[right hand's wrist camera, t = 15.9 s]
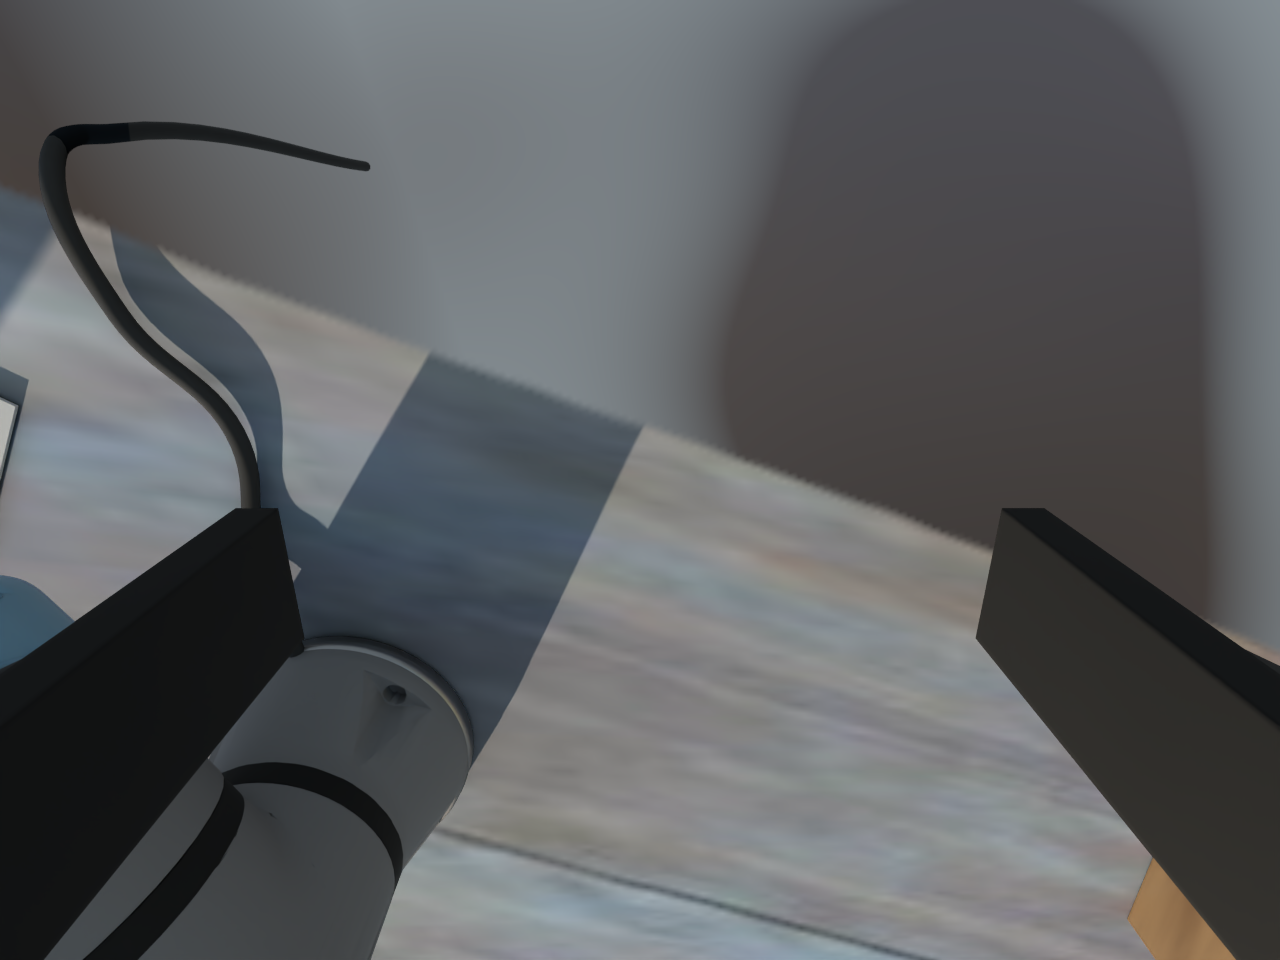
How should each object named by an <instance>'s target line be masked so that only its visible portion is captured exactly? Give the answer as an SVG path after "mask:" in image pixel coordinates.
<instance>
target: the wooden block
mask: <svg viewBox="0 0 1280 960" xmlns="http://www.w3.org/2000/svg"><path fill="white" fill-rule="evenodd" d="M1128 921H1129V922H1130V924H1131V925H1132V927H1133V928H1134V929H1135V931H1136V932H1137V934H1138V935H1139V937H1140V938H1141V939H1142V941H1143V942H1144V944H1145V945H1146V947H1147V948H1148V949H1149V951H1150V952H1151V954H1152V955H1153V957H1154V958H1155V959H1156V960H1236V959H1235V958H1234V957H1233V955H1232V954H1231V953H1230V952H1229V950H1228V949H1227V948H1226V947H1225V946H1224V944H1223V943H1222V942H1221V941H1220V939H1219V938H1218V937H1217V936H1216V934H1215V933H1214V932H1213V931H1212V929H1211V928H1210V927H1209V926H1208V925H1207V923H1206V922H1205V921H1204V920H1203V918H1202V917H1201V916H1200V915H1199V913H1198V912H1197V911H1196V910H1195V908H1194V907H1193V906H1192V905H1191V904H1190V902H1189V901H1188V900H1187V899H1186V897H1185V896H1184V895H1183V894H1182V892H1181V891H1180V890H1179V889H1178V887H1177V886H1176V885H1175V884H1174V883H1173V881H1172V880H1171V879H1170V878H1169V876H1168V875H1167V874H1166V873H1165V871H1164V870H1163V869H1162V868H1161V866H1160V865H1159V864H1158V863H1157V862H1156V860H1155V859H1154V858H1153V859H1152V861H1151V864H1150V866H1149V868H1148V871H1147V873H1146V876H1145V878H1144V880H1143V883H1142V885H1141V888H1140V890H1139V892H1138V895H1137V897H1136V900H1135V902H1134V904H1133V907H1132V909H1131V911H1130V914H1129V916H1128Z"/></svg>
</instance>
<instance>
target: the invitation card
mask: <svg viewBox="0 0 1280 960" xmlns="http://www.w3.org/2000/svg"><path fill="white" fill-rule="evenodd" d="M17 410H18V405H16V404H14V403H12V402H9V401H7V400H5V399H3V398H1V397H0V480H1V476H2V472H3V468H4V463H5V459H6V455H7V451H8V447H9V443H10V439H11V435H12V431H13V427H14V423H15V419H16V414H17Z"/></svg>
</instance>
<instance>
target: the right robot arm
mask: <svg viewBox="0 0 1280 960" xmlns="http://www.w3.org/2000/svg"><path fill="white" fill-rule="evenodd" d="M162 139H179V140H197V141H208V142H216V143H225V144H231V145H237V146H243V147H249V148H254V149H259V150H264V151H269V152H274V153H279V154H283V155H287V156H292V157H296V158H300V159H305V160H309V161H313V162H318V163H322V164H327V165H331V166H336V167H341V168H347V169H352V170H359V171H369V170H370V164H369V163H368V162H366V161H360V160H355V159H350V158H345V157H341V156H336V155H332V154H328V153H324V152H321V151H317V150H313V149H309V148H305V147H302V146H298V145H294V144H290V143H287V142H283V141H279V140H275V139H271V138H267V137H263V136H258V135H254V134H250V133H246V132H241V131H236V130H231V129H226V128H219V127H213V126H206V125H200V124H189V123H178V122H148V121H142V122H127V123H112V124H76V125H69V126H64V127H60V128H58V129H56V130H54V131H53V132H52V133H50V134H49V135H48V137H47V138H46V140H45V142H44V144H43V146H42V149H41V152H40V158H39V181H40V189H41V194H42V198H43V202H44V206H45V209H46V212H47V215H48V217H49V220H50V222H51V225H52V227H53V230H54V232H55V234H56V236H57V238H58V240H59V242H60V244H61V246H62V248H63V249H64V251H65V253H66V255H67V257H68V258H69V260H70V262H71V263H72V265H73V267H74V268H75V270H76V271H77V273H78V274H79V276H80V278H81V279H82V281H83V282H84V284H85V285H86V287H87V288H88V290H89V291H90V293H91V294H92V296H93V297H94V298H95V300H96V301H97V303H98V304H99V306H100V307H101V309H102V310H103V311H104V313H105V314H106V316H107V317H108V319H109V320H110V321H111V323H112V324H113V325H114V327H115V328H116V329H117V330H118V332H119V333H120V334H121V335H122V336H123V337H124V339H125V340H126V341H127V342H128V343H129V344H130V345H131V346H132V347H133V348H134V349H135V350H136V351H137V352H138V353H139V354H140V355H142V356H143V357H144V358H145V359H146V360H147V361H149V362H150V363H151V364H152V365H153V366H155V367H156V368H157V369H158V370H160V371H161V372H162V373H164V374H165V375H166V376H167V377H169V378H170V379H171V380H173V381H174V382H175V383H177V384H178V385H179V386H180V387H182V388H183V389H184V390H185V391H187V392H188V393H189V394H190V395H191V396H193V397H194V398H195V399H196V400H197V401H198V402H199V403H200V404H201V405H202V406H203V407H204V408H205V409H206V410H207V411H208V412H209V413H210V414H211V415H212V417H213V418H214V419H215V421H216V422H217V423H218V425H219V426H220V428H221V429H222V431H223V433H224V434H225V436H226V438H227V440H228V442H229V444H230V446H231V448H232V451H233V454H234V456H235V460H236V463H237V467H238V472H239V478H240V489H241V508H235V509H234V510H233V511H231V512H230V513H228V514H227V515H226V516H224V517H223V518H221V519H220V520H218V521H217V522H216V523H214V524H213V525H211V526H210V527H208V528H207V529H206V530H204V531H203V532H201V533H200V534H199V535H197V536H196V537H194V538H193V539H191V540H190V541H189V542H187V543H186V544H184V545H183V546H181V547H180V548H179V549H177V550H176V551H174V552H173V553H172V554H170V555H169V556H167V557H166V558H164V559H163V560H162V561H160V562H159V563H157V564H156V565H154V566H153V567H152V568H150V569H149V570H147V571H146V572H145V573H143V574H142V575H140V576H139V577H137V578H136V579H135V580H133V581H132V582H130V583H129V584H128V585H126V586H125V587H123V588H122V589H120V590H119V591H118V592H116V593H115V594H113V595H112V596H110V597H109V598H108V599H106V600H105V601H103V602H102V603H101V604H99V605H98V606H96V607H95V608H93V609H92V610H91V611H89V612H88V613H86V614H85V615H83V616H82V617H81V618H79V619H78V620H76V621H74V620H73V619H71V618H70V617H69V616H68V615H67V614H66V613H65V612H64V611H63V610H62V609H61V608H59V607H58V606H57V605H56V604H55V603H54V602H53V601H52V600H51V599H50V598H49V597H47V596H46V595H45V594H44V593H43V592H42V591H41V590H39V589H38V588H37V587H35V586H34V585H32V584H30V583H28V582H26V581H24V580H21V579H18V578H14V577H10V576H2V575H0V960H371V957H372V954H373V951H374V948H375V946H376V943H377V940H378V937H379V934H380V931H381V929H382V926H383V923H384V920H385V917H386V914H387V911H388V909H389V906H390V903H391V900H392V897H393V894H394V891H395V889H396V886H397V883H398V881H399V878H400V875H401V873H402V870H403V869H404V867H405V866H406V865H407V864H408V862H409V861H410V860H411V858H412V857H413V856H414V855H415V853H416V852H417V851H418V850H419V848H420V847H421V846H422V844H423V843H424V842H425V840H426V839H427V838H428V836H429V835H430V834H431V832H432V831H433V830H434V828H435V827H436V826H437V825H438V824H439V823H440V822H441V821H442V820H443V819H444V818H445V817H446V815H447V814H448V813H449V812H450V810H451V809H452V807H453V806H454V804H455V802H456V801H457V799H458V797H459V795H460V793H461V791H462V789H463V786H464V784H465V781H466V778H467V775H468V772H469V769H470V765H471V762H472V757H473V747H474V741H473V732H472V727H471V723H470V720H469V717H468V714H467V712H466V710H465V708H464V706H463V704H462V702H461V701H460V699H459V697H458V696H457V694H456V693H455V692H454V690H453V689H452V688H451V687H450V685H449V684H448V683H447V682H446V681H445V680H444V679H443V678H442V677H441V676H440V675H439V674H438V673H437V672H435V671H434V670H433V669H432V668H430V667H429V666H428V665H426V664H425V663H423V662H422V661H420V660H419V659H417V658H416V657H414V656H412V655H410V654H408V653H406V652H404V651H402V650H400V649H397V648H395V647H393V646H390V645H387V644H384V643H381V642H377V641H373V640H369V639H363V638H357V637H347V636H330V637H319V638H313V639H308V640H304V641H302V640H303V639H304V634H303V629H302V624H301V619H300V615H299V610H298V605H297V600H296V595H295V590H294V585H293V580H292V575H291V570H290V565H289V560H288V555H287V550H286V545H285V540H284V535H283V531H282V526H281V521H280V516H279V511H278V508H261V506H260V480H259V472H258V466H257V462H256V458H255V454H254V451H253V448H252V445H251V443H250V440H249V438H248V436H247V434H246V432H245V430H244V428H243V426H242V425H241V423H240V421H239V420H238V418H237V416H236V415H235V414H234V412H233V411H232V410H231V408H230V407H229V406H228V404H227V403H226V402H225V401H224V400H223V399H222V398H221V397H220V396H219V395H218V394H217V393H216V392H215V391H214V390H213V389H212V388H211V387H210V386H209V385H208V384H207V383H205V382H204V381H203V380H202V379H201V378H199V377H198V376H197V375H196V374H194V373H193V372H192V371H191V370H189V369H188V368H187V367H186V366H184V365H183V364H182V363H180V362H179V361H178V360H176V359H175V358H174V357H173V356H171V355H170V354H169V353H168V352H167V351H165V350H164V349H163V348H162V347H161V346H160V345H158V344H157V343H156V342H155V341H154V340H153V339H152V338H151V337H150V336H149V335H148V334H147V333H146V332H145V331H144V330H143V329H142V327H141V326H140V325H139V324H138V323H137V322H136V320H135V319H134V317H133V316H132V315H131V313H130V312H129V311H128V309H127V308H126V306H125V305H124V303H123V302H122V301H121V299H120V298H119V296H118V295H117V293H116V292H115V290H114V289H113V287H112V286H111V284H110V283H109V281H108V279H107V278H106V276H105V275H104V273H103V272H102V270H101V268H100V267H99V265H98V264H97V262H96V260H95V259H94V257H93V255H92V253H91V252H90V250H89V248H88V246H87V244H86V242H85V240H84V239H83V237H82V234H81V232H80V230H79V228H78V226H77V223H76V221H75V218H74V216H73V213H72V210H71V206H70V203H69V199H68V195H67V189H66V180H65V166H66V159H67V156H68V154H69V153H70V151H72V150H73V149H74V148H76V147H78V146H81V145H92V144H112V143H121V142H131V141H140V140H162ZM976 639H977V640H978V642H979V643H980V644H981V645H982V647H983V648H984V649H985V650H986V652H987V653H988V654H989V655H990V657H991V658H992V659H993V660H994V661H995V663H996V664H997V665H998V666H999V668H1000V669H1001V670H1002V671H1003V673H1004V674H1005V675H1006V676H1007V678H1008V679H1009V680H1010V681H1011V682H1012V684H1013V685H1014V686H1015V687H1016V689H1017V690H1018V691H1019V692H1020V694H1021V695H1022V696H1023V697H1024V699H1025V700H1026V701H1027V702H1028V703H1029V705H1030V706H1031V707H1032V708H1033V710H1034V711H1035V712H1036V713H1037V715H1038V716H1039V717H1040V718H1041V720H1042V721H1043V722H1044V723H1045V724H1046V726H1047V727H1048V728H1049V729H1050V731H1051V732H1052V733H1053V734H1054V736H1055V737H1056V738H1057V739H1058V741H1059V742H1060V743H1061V744H1062V745H1063V747H1064V748H1065V749H1066V750H1067V752H1068V753H1069V754H1070V755H1071V757H1072V758H1073V759H1074V760H1075V762H1076V763H1077V764H1078V765H1079V766H1080V768H1081V769H1082V770H1083V771H1084V773H1085V774H1086V775H1087V776H1088V778H1089V779H1090V780H1091V781H1092V783H1093V784H1094V785H1095V786H1096V787H1097V789H1098V790H1099V791H1100V792H1101V794H1102V795H1103V796H1104V797H1105V799H1106V800H1107V801H1108V802H1109V804H1110V805H1111V806H1112V807H1113V808H1114V810H1115V811H1116V812H1117V813H1118V815H1119V816H1120V817H1121V818H1122V820H1123V821H1124V822H1125V823H1126V824H1127V826H1128V827H1129V828H1130V829H1131V831H1132V832H1133V833H1134V834H1135V836H1136V837H1137V838H1138V839H1139V841H1140V842H1141V843H1142V844H1143V845H1144V847H1145V848H1146V849H1147V850H1148V852H1149V853H1150V854H1151V855H1152V857H1153V858H1154V859H1155V860H1156V862H1157V863H1158V864H1159V865H1160V866H1161V868H1162V869H1163V870H1164V871H1165V873H1166V874H1167V875H1168V876H1169V878H1170V879H1171V880H1172V881H1173V883H1174V884H1175V885H1176V886H1177V887H1178V889H1179V890H1180V891H1181V892H1182V894H1183V895H1184V896H1185V897H1186V899H1187V900H1188V901H1189V902H1190V904H1191V905H1192V906H1193V907H1194V908H1195V910H1196V911H1197V912H1198V913H1199V915H1200V916H1201V917H1202V918H1203V920H1204V921H1205V922H1206V923H1207V925H1208V926H1209V927H1210V928H1211V929H1212V931H1213V932H1214V933H1215V934H1216V936H1217V937H1218V938H1219V939H1220V941H1221V942H1222V943H1223V944H1224V946H1225V947H1226V948H1227V949H1228V950H1229V952H1230V953H1231V954H1232V955H1233V957H1234V958H1235V959H1236V960H1280V666H1279V665H1277V664H1274V663H1272V662H1270V661H1268V660H1266V659H1264V658H1262V657H1260V656H1258V655H1255V654H1253V653H1251V652H1249V651H1247V650H1245V649H1243V648H1242V647H1241V646H1239V645H1238V644H1236V643H1235V642H1233V641H1232V640H1231V639H1229V638H1228V637H1226V636H1225V635H1224V634H1222V633H1221V632H1219V631H1218V630H1216V629H1215V628H1214V627H1212V626H1211V625H1209V624H1208V623H1206V622H1205V621H1204V620H1202V619H1201V618H1199V617H1198V616H1197V615H1195V614H1194V613H1192V612H1191V611H1189V610H1188V609H1187V608H1185V607H1184V606H1182V605H1181V604H1179V603H1178V602H1177V601H1175V600H1174V599H1172V598H1171V597H1169V596H1168V595H1167V594H1165V593H1164V592H1162V591H1161V590H1160V589H1158V588H1157V587H1155V586H1154V585H1152V584H1151V583H1150V582H1148V581H1147V580H1145V579H1144V578H1142V577H1141V576H1140V575H1138V574H1137V573H1135V572H1134V571H1133V570H1131V569H1130V568H1128V567H1127V566H1125V565H1124V564H1123V563H1121V562H1120V561H1118V560H1117V559H1116V558H1114V557H1113V556H1111V555H1110V554H1108V553H1107V552H1106V551H1104V550H1103V549H1101V548H1100V547H1098V546H1097V545H1096V544H1094V543H1093V542H1091V541H1090V540H1089V539H1087V538H1086V537H1084V536H1083V535H1081V534H1080V533H1079V532H1077V531H1076V530H1074V529H1073V528H1072V527H1070V526H1069V525H1067V524H1066V523H1064V522H1063V521H1062V520H1060V519H1059V518H1057V517H1056V516H1054V515H1053V514H1052V513H1050V512H1049V511H1047V510H1046V509H1045V508H1002V511H1001V516H1000V521H999V526H998V531H997V535H996V541H995V546H994V550H993V555H992V560H991V565H990V570H989V575H988V580H987V585H986V590H985V595H984V600H983V605H982V610H981V615H980V619H979V624H978V629H977V634H976ZM210 754H211V755H210ZM209 755H210V758H209V759H208V757H209Z"/></svg>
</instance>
